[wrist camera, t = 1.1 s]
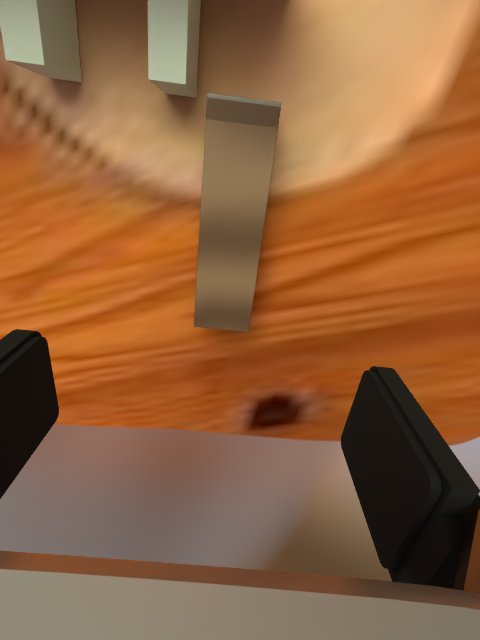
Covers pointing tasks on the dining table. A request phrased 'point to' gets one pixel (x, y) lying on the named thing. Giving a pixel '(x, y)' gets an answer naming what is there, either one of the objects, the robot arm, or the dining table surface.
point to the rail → (233, 207)
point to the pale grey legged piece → (63, 46)
